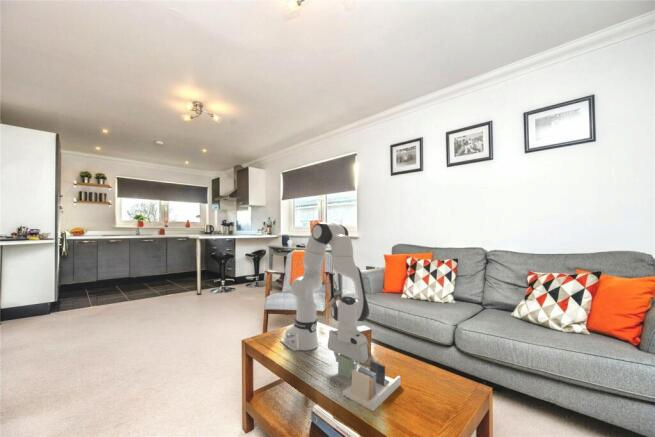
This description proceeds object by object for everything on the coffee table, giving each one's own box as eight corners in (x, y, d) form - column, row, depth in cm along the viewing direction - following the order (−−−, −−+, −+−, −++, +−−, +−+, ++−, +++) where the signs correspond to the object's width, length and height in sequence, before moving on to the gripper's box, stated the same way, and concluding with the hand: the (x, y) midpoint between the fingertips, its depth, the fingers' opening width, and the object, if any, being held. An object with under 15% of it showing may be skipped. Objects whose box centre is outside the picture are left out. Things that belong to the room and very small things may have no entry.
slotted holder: (342, 394, 105) (343, 369, 106) (371, 372, 122) (372, 350, 122) (373, 411, 96) (374, 383, 96) (400, 385, 113) (400, 361, 113)
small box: (359, 357, 136) (360, 331, 136) (351, 352, 141) (352, 327, 142) (371, 353, 140) (372, 328, 141) (363, 348, 146) (364, 324, 146)
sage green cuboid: (338, 373, 121) (338, 355, 121) (343, 369, 124) (343, 352, 124) (348, 378, 117) (349, 359, 117) (353, 374, 120) (354, 356, 120)
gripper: (325, 330, 125) (324, 359, 125) (361, 343, 112) (361, 376, 112) (333, 326, 130) (332, 355, 130) (369, 338, 117) (369, 370, 116)
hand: (346, 365), depth 120 cm, fingers open, 8 cm apart
